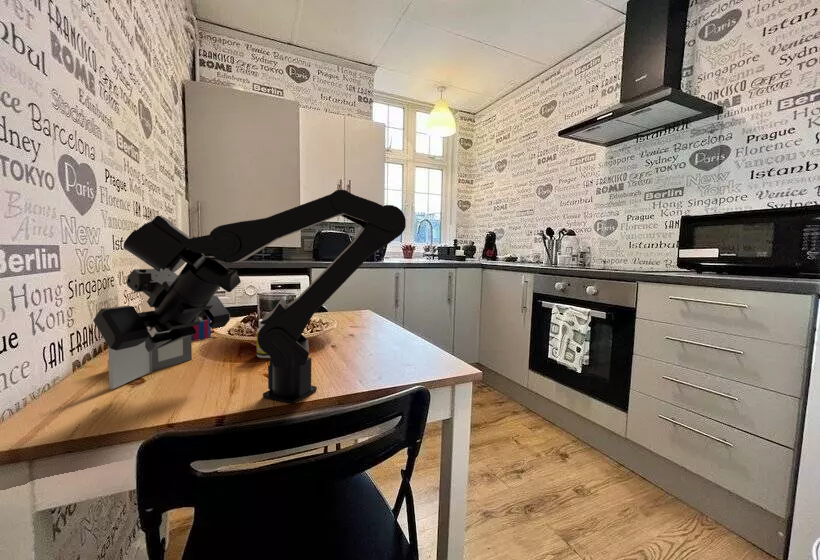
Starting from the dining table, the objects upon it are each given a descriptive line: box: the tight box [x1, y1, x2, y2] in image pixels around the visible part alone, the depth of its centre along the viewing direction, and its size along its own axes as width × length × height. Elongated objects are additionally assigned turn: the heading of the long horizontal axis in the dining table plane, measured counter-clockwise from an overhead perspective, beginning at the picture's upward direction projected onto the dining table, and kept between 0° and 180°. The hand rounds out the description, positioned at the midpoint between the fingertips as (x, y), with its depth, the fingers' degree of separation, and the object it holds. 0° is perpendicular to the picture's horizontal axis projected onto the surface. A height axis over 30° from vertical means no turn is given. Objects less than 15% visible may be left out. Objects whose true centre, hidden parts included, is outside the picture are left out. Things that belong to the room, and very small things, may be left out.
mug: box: [191, 316, 215, 341], centre depth 93 cm, size 7×10×7 cm
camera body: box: [152, 336, 193, 372], centre depth 71 cm, size 8×9×8 cm
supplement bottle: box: [256, 318, 270, 359], centre depth 79 cm, size 5×5×8 cm
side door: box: [107, 341, 153, 390], centre depth 61 cm, size 9×1×8 cm, turn 179°
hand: (148, 349), depth 59 cm, fingers closed
